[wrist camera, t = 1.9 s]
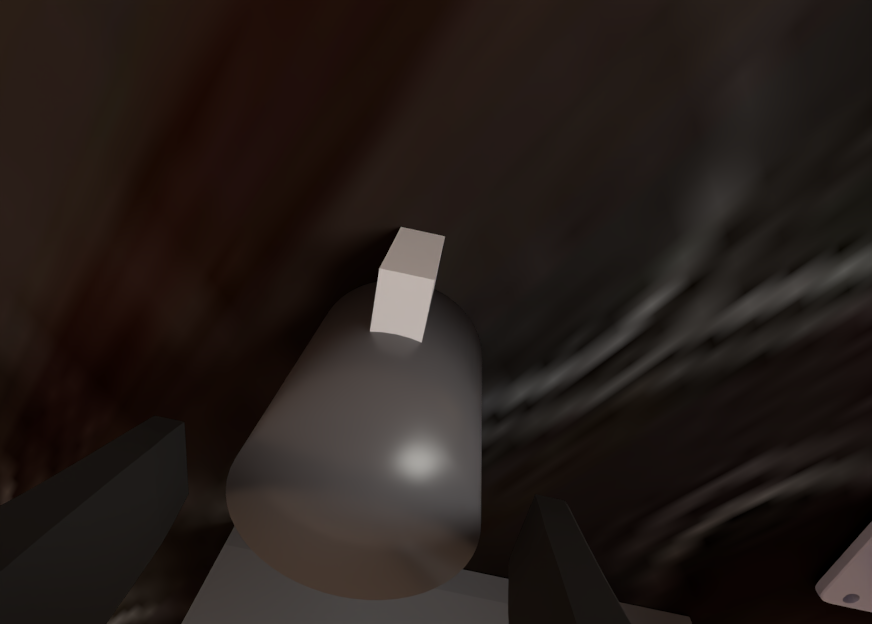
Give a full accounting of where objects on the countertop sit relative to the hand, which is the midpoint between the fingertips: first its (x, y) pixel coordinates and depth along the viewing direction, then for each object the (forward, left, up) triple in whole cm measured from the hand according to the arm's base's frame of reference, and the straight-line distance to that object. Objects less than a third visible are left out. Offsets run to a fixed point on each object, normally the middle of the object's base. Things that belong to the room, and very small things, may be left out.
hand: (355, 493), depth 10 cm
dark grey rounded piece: (0, 0, -5) cm, 5 cm away
